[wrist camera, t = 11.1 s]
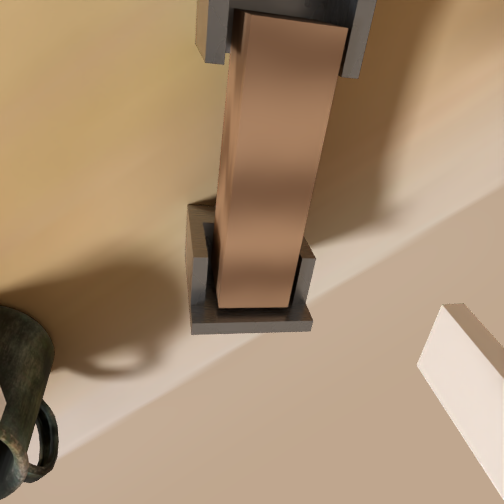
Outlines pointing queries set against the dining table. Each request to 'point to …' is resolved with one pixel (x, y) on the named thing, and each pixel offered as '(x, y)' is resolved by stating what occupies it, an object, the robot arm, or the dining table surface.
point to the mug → (24, 400)
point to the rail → (270, 152)
